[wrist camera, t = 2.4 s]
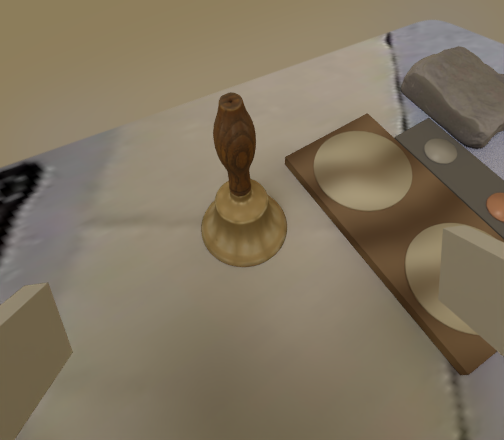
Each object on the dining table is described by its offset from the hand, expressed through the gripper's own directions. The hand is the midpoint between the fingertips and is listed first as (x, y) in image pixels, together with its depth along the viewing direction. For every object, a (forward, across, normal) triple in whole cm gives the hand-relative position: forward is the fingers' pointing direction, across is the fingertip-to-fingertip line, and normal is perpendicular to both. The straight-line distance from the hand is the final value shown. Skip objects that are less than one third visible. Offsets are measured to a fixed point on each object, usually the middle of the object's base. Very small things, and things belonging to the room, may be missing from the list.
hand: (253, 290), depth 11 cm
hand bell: (+20, 0, -5) cm, 21 cm away
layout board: (+19, +15, -6) cm, 25 cm away
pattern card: (+21, +23, -4) cm, 31 cm away
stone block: (+29, +27, +4) cm, 40 cm away
